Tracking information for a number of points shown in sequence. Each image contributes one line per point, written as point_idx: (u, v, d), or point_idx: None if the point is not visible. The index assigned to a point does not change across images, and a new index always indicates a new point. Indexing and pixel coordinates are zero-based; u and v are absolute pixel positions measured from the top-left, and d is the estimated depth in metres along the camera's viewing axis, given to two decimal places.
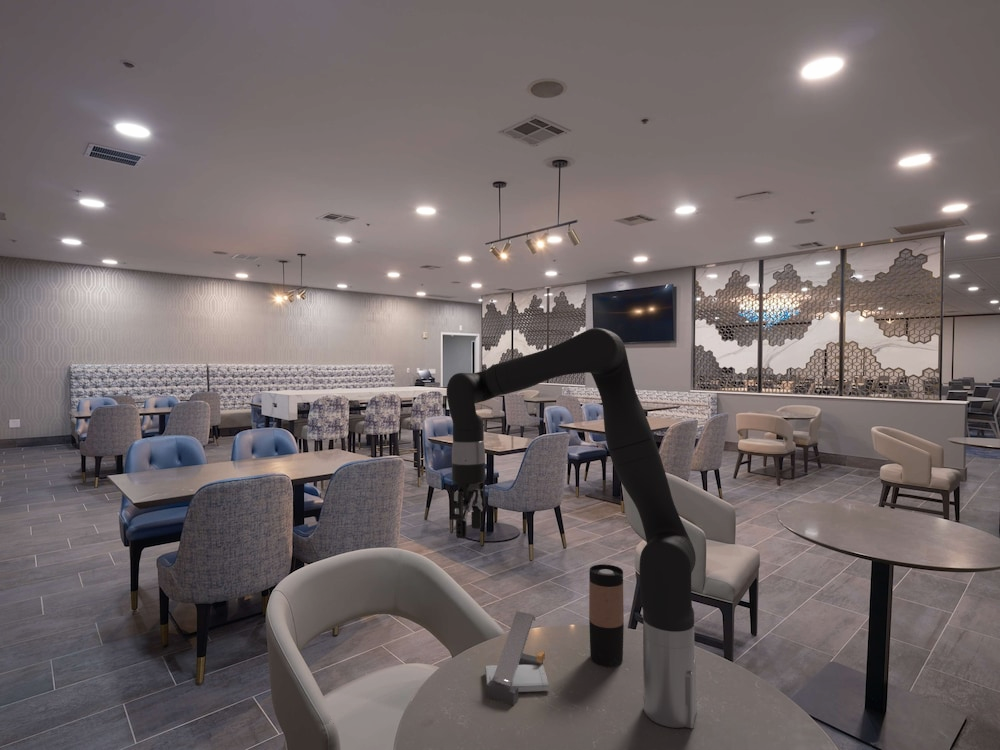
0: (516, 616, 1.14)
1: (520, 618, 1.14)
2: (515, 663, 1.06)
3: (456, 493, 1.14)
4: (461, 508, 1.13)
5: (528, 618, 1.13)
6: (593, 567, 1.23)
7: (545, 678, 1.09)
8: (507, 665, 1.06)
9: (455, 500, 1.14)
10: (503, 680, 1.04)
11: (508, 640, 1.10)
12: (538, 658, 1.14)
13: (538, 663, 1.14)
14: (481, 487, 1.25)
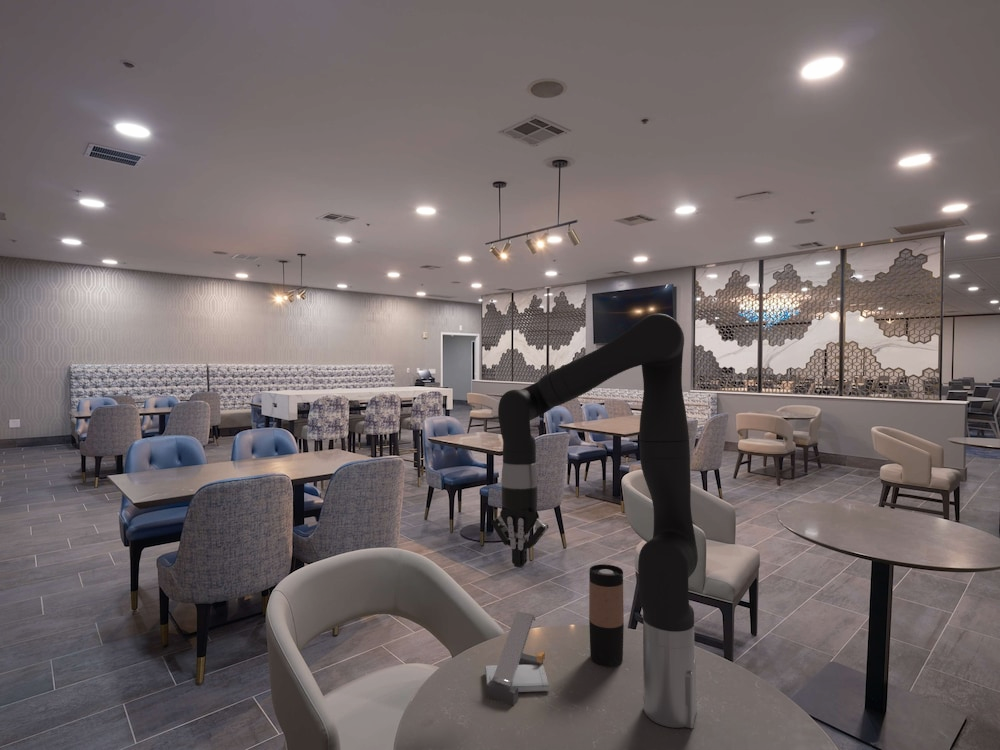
0: (516, 616, 1.14)
1: (520, 618, 1.14)
2: (515, 663, 1.06)
3: (546, 528, 1.09)
4: None
5: (528, 618, 1.13)
6: (593, 567, 1.23)
7: (545, 678, 1.09)
8: (507, 665, 1.06)
9: (541, 533, 1.09)
10: (503, 680, 1.04)
11: (508, 640, 1.10)
12: (538, 658, 1.14)
13: (538, 663, 1.14)
14: None
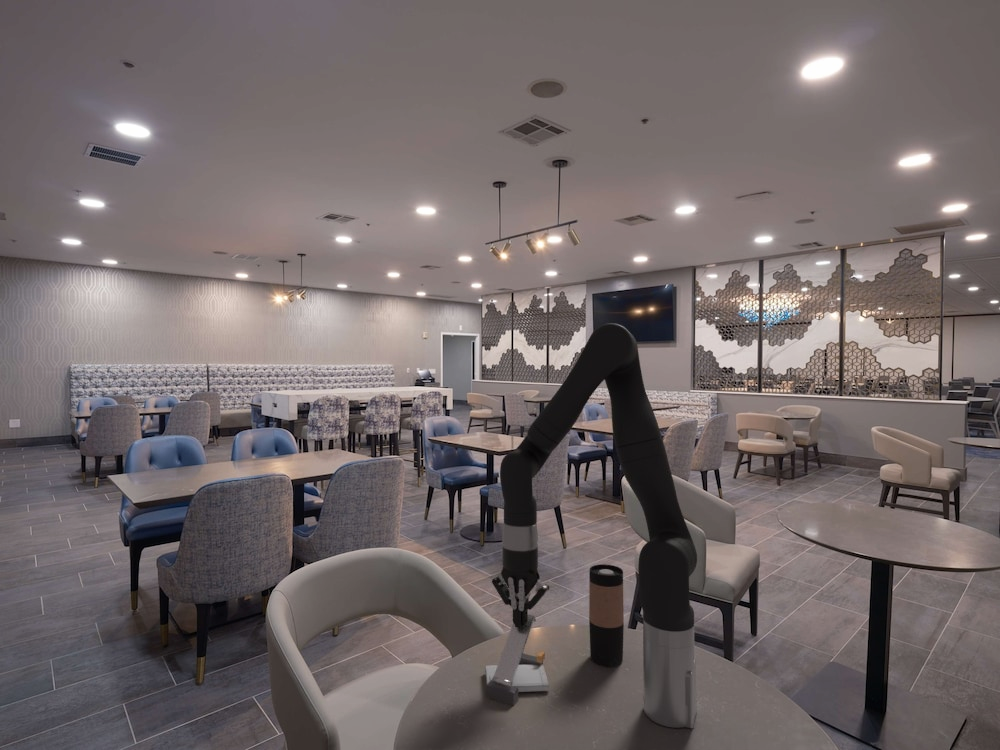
0: None
1: None
2: (515, 663, 1.06)
3: (546, 590, 1.10)
4: None
5: (528, 619, 1.13)
6: (593, 567, 1.23)
7: (545, 678, 1.09)
8: (507, 665, 1.06)
9: None
10: (503, 680, 1.04)
11: (509, 641, 1.11)
12: (538, 658, 1.14)
13: (538, 663, 1.14)
14: None
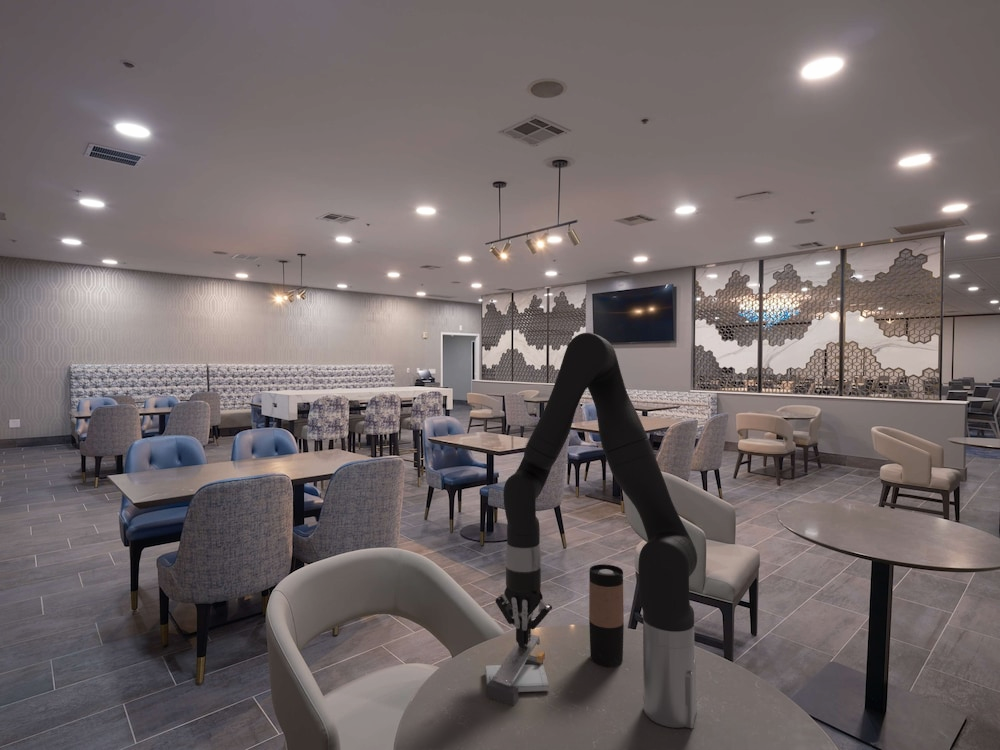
0: None
1: None
2: (517, 668, 1.07)
3: (549, 610, 1.11)
4: None
5: (533, 638, 1.15)
6: (593, 567, 1.23)
7: (545, 678, 1.09)
8: (509, 669, 1.07)
9: None
10: (503, 680, 1.04)
11: (512, 652, 1.12)
12: (538, 658, 1.14)
13: (538, 663, 1.14)
14: None
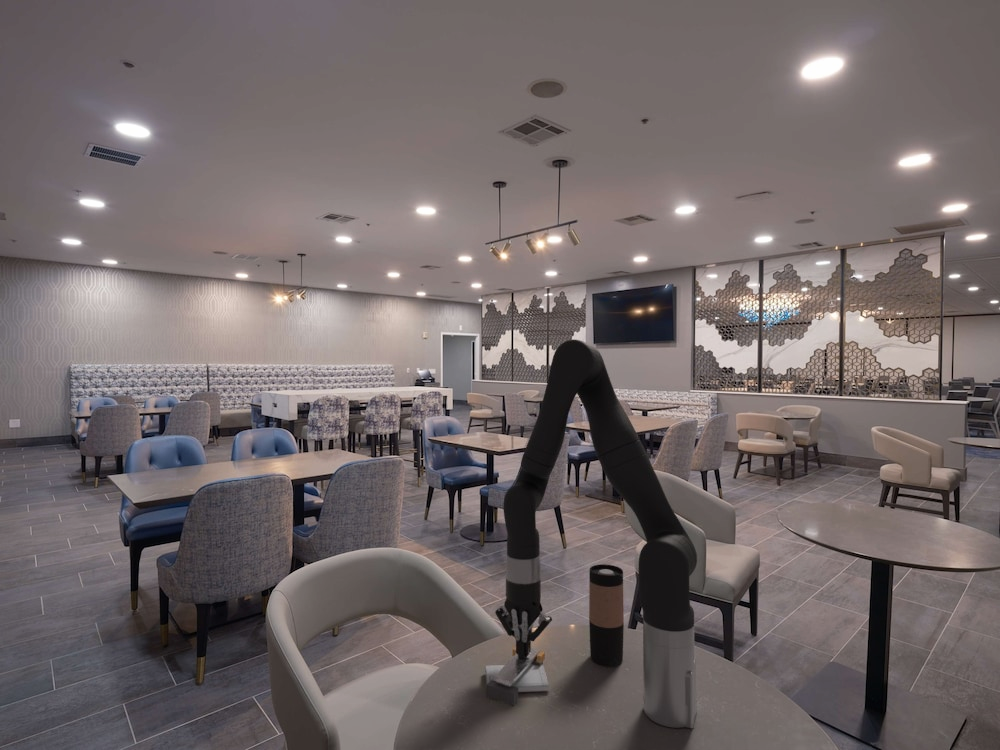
0: None
1: None
2: (518, 672, 1.07)
3: (549, 622, 1.11)
4: None
5: (534, 651, 1.16)
6: (593, 567, 1.23)
7: (545, 678, 1.09)
8: (509, 672, 1.07)
9: None
10: (503, 680, 1.04)
11: (513, 660, 1.12)
12: (538, 658, 1.14)
13: (538, 663, 1.14)
14: None
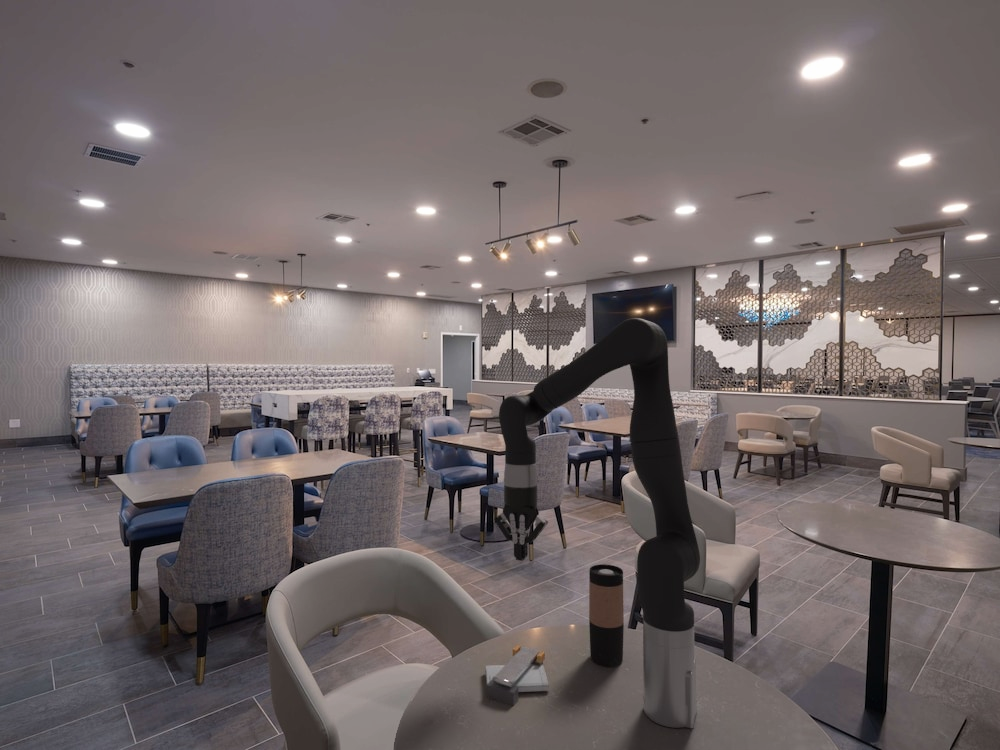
0: (522, 649, 1.17)
1: (526, 650, 1.16)
2: (518, 672, 1.07)
3: (545, 524, 1.18)
4: None
5: (534, 651, 1.16)
6: (593, 567, 1.23)
7: (545, 678, 1.09)
8: (509, 672, 1.07)
9: (541, 529, 1.18)
10: (503, 680, 1.04)
11: (513, 660, 1.12)
12: (538, 658, 1.14)
13: (538, 663, 1.14)
14: None
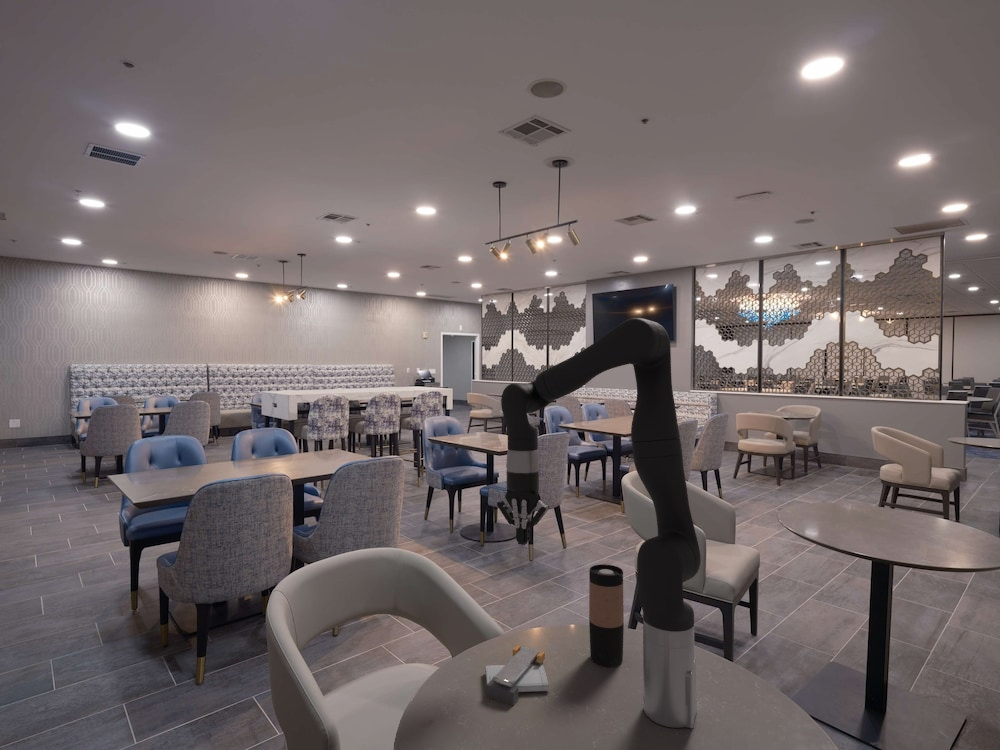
0: (522, 649, 1.17)
1: (526, 650, 1.16)
2: (518, 672, 1.07)
3: (547, 508, 1.20)
4: None
5: (534, 651, 1.16)
6: (593, 567, 1.23)
7: (545, 678, 1.09)
8: (509, 672, 1.07)
9: (543, 513, 1.21)
10: (503, 680, 1.04)
11: (513, 660, 1.12)
12: (538, 658, 1.14)
13: (538, 663, 1.14)
14: None
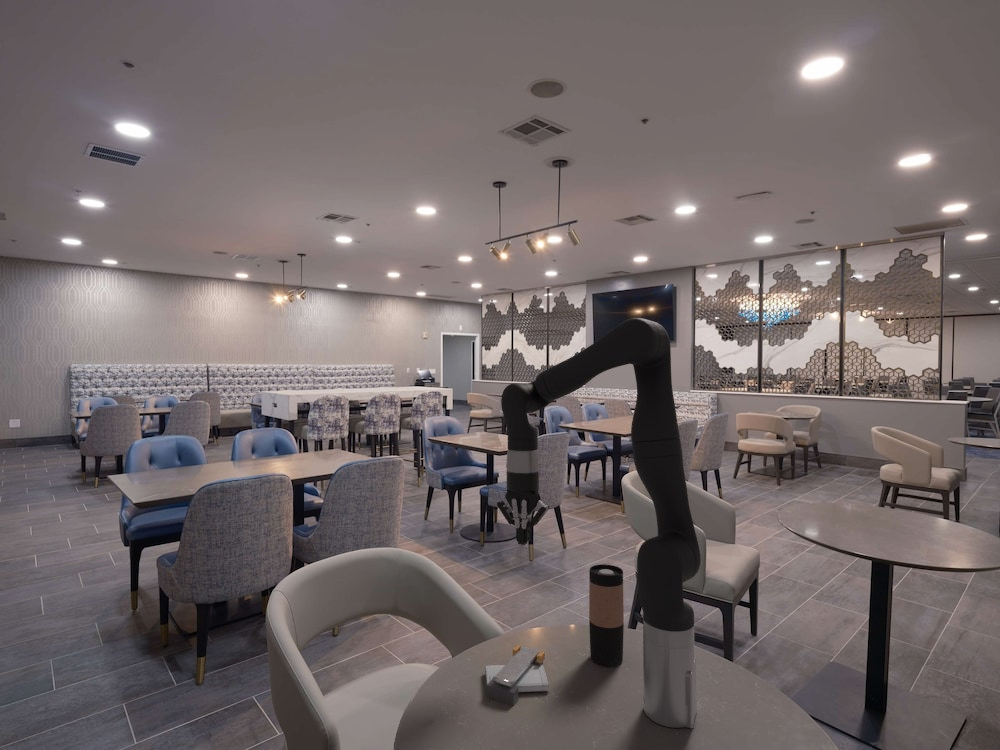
0: (522, 649, 1.17)
1: (526, 650, 1.16)
2: (518, 672, 1.07)
3: (547, 508, 1.20)
4: None
5: (534, 651, 1.16)
6: (593, 567, 1.23)
7: (545, 678, 1.09)
8: (509, 672, 1.07)
9: (543, 513, 1.21)
10: (503, 680, 1.04)
11: (513, 660, 1.12)
12: (538, 658, 1.14)
13: (538, 663, 1.14)
14: None
